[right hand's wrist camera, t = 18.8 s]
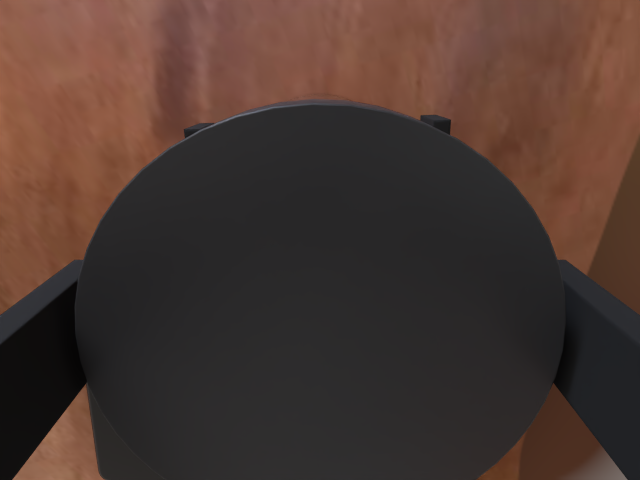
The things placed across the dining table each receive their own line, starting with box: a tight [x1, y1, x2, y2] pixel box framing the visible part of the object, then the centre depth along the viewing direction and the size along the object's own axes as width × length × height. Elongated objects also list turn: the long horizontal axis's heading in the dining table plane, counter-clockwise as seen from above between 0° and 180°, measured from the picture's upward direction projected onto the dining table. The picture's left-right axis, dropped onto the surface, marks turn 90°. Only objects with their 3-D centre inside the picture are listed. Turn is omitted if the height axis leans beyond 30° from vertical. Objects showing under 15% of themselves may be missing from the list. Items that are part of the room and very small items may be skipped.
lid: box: [75, 99, 566, 480], centre depth 11 cm, size 11×11×2 cm
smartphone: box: [86, 383, 165, 480], centre depth 34 cm, size 8×1×16 cm
